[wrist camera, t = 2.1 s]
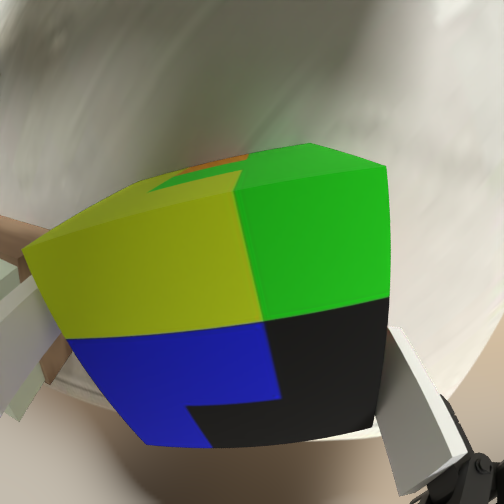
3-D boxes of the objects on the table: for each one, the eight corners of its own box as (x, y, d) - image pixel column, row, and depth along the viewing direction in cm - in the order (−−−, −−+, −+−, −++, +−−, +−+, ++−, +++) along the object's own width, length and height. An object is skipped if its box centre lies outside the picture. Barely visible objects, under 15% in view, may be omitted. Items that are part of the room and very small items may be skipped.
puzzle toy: (185, 321, 20) (146, 444, 10) (137, 181, 16) (21, 249, 7) (330, 299, 19) (372, 427, 9) (309, 142, 15) (386, 166, 6)
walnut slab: (-25, 204, 17) (-62, 223, 12) (60, 229, 17) (17, 258, 13) (-6, 309, 21) (-32, 335, 17) (74, 348, 22) (50, 385, 18)
